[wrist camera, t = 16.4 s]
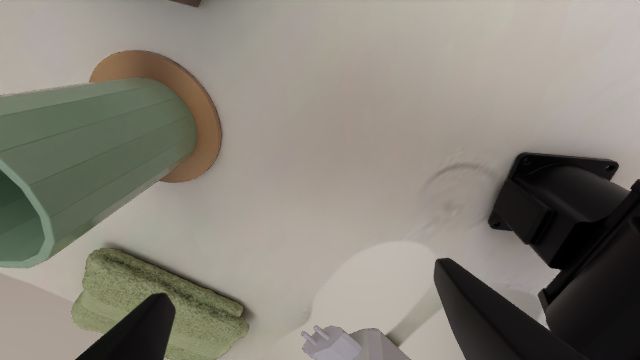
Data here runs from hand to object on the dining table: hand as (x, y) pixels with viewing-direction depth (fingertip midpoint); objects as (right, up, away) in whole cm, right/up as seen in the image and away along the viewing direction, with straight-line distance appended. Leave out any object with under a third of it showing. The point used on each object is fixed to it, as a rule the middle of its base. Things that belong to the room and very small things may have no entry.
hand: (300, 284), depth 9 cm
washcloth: (-17, -11, +22) cm, 30 cm away
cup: (-12, +8, +11) cm, 18 cm away
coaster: (-12, +8, +11) cm, 18 cm away
